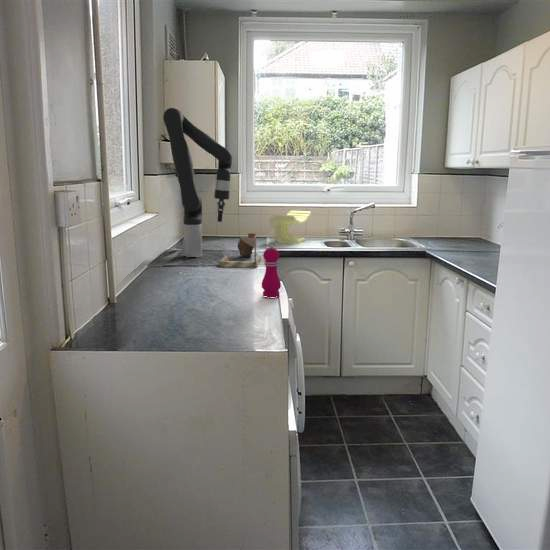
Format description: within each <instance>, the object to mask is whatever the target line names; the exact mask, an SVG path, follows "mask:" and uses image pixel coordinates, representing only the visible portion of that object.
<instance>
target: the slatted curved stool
mask: <svg viewBox="0 0 550 550" xmlns="http://www.w3.org/2000/svg"><path fill="white" fill-rule="evenodd" d="M310 217H312V211H309V210H290V211H288V212H287V213H286V214H285V215H279V214H278V215H277V214H273V215H271V216H270V217H269V220H268V228H274V234H275V236H274V237H275V240H276V241H277V242H278V243H279V244H291V243H295V245H300V244H302V243H305V242H306V241H307V240H306V238H305V237H297V236H293V235H291V234H290V233H289V229H290V226H291V225H300V224H303V223H306V222H307V221H308V220H309V218H310Z"/></svg>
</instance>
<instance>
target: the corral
mask: <svg viewBox="0 0 550 550" xmlns="http://www.w3.org/2000/svg"><path fill="white" fill-rule="evenodd" d="M247 237H248V238H252V239H254V248H253V250H254V254H253V255H254V261H239V260H238V261H237V260H236V261H231V260H230V255H227V254H225V256H223V258H221V260H219V268H247V267H253V269H256V268H258V267H257V266H259V265H260V263H261V262H262V255H258V256H257V232H254V233H252V232H251V233H247Z"/></svg>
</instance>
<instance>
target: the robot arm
mask: <svg viewBox="0 0 550 550" xmlns="http://www.w3.org/2000/svg"><path fill="white" fill-rule="evenodd" d="M162 117H163V119H162V120H163V123H164V125H165V127H166V131H167V134H168V139H169V145H170V150H171V156H172V160H173V166H174V169H175V173H176V176H177V181H178V183H179V188H180V195H181V205H182V207H183V208H184V213H183V214H184V215H183V236H184V237H183V239H182V245H183V246H182V247H183V257H184V256H186V257H185V258H189V257H196V258H202V257H203V229H202V228H203V225H202V223H203V220H202V219H203V203H202V202H203V200H202V197H201V195H199V194H198V193H197V192H198V191H197V190H196V186H195V181H194V179H195V178H194V175H195V174H194V173H195V172H194V163H193V158H192V155H191V152H190V151H191V150H190V148H189V145H188V143H187V140H186V139H185V136H187V137H188V138H189V139H190V140H192V141H193V142H194V143H195V144H196V145H197V146H198V147H200V148H201V149H203V150H204V151H206V152H207V154H209V155H212V156H213V158H215V159H216V160H217V161H218V163H217V171H216V179H215V185H214V196H213V197H214V199H218V201H216V203H217V204H216V205H217V207H216V208H217V209H216V210H217V222H219V223H222V221H223V214H224V211H225V206H226V203H225V200H230V191H231V175H232V174H231V171H232V169H231V168H232V163H233V155H232V152H231V151H230V150H229V149H228V148H227V147H224V146H222V145H221V144H220V143H218V141H216V140H215V139H214V138H212V137H211V136H209V134H208V133H205V132H204V131H202V130H201V129H199V128H198V127H197V126H195V125H194V124H193V123H192V122H191V121H189V119H188V118H187V117H186V116H185V115H184V114H183V113H182V111H181V110H179V109H177V108H175V107H169V108H167V109H166V110H165V111H164V112H163V116H162Z"/></svg>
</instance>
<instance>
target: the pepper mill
mask: <svg viewBox="0 0 550 550" xmlns="http://www.w3.org/2000/svg"><path fill="white" fill-rule="evenodd" d="M274 247H275V245H274V244H272V243H270V244H269V246H268V248H267V249H265V250H264V251H263V255H262V257H263V259H264V260H265V261H264V266H265V273H264V276H263V278H262V281H261V289H263V291H262V297H263V296H267V297H276V296H279V297H280V288H281V287H282V286H281V285H282V284H281V280H280V278H279V274H278V270H277V269H278V266H279V264H278V263H279V261H278V259H280V252H279V250H278V249H276V248H274Z"/></svg>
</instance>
